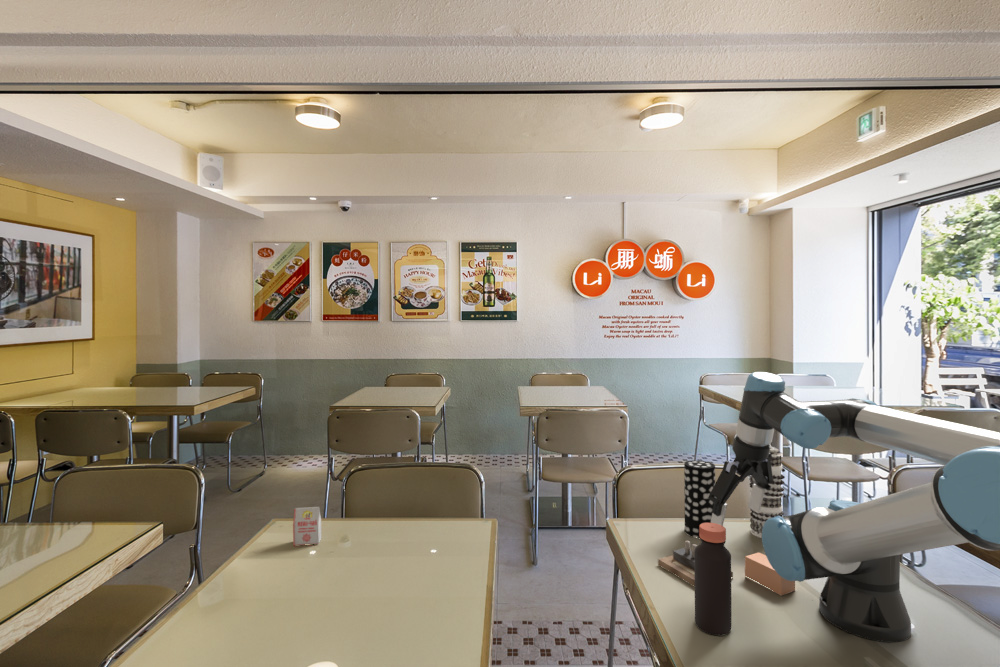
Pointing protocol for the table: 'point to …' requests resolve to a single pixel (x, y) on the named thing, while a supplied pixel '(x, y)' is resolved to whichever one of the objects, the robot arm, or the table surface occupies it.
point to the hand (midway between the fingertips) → (735, 517)
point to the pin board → (682, 563)
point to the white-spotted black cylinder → (698, 494)
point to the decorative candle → (769, 495)
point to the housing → (766, 574)
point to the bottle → (712, 580)
